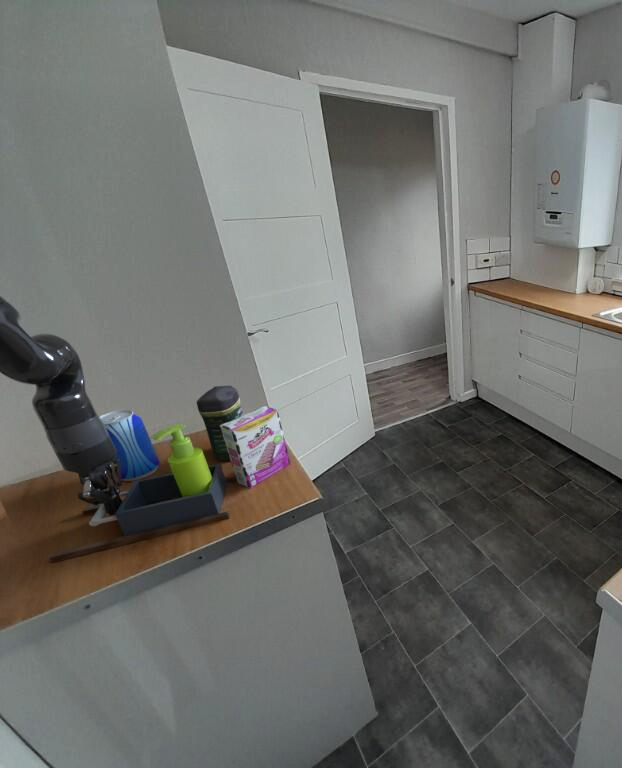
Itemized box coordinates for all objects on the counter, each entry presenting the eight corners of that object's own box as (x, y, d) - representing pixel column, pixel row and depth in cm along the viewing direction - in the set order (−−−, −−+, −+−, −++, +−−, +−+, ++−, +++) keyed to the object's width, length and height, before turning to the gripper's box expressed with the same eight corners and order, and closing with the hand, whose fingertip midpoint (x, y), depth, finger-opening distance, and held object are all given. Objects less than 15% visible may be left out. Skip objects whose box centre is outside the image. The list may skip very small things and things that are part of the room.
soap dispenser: (176, 511, 88) (142, 433, 80) (208, 492, 94) (179, 417, 86) (194, 519, 86) (162, 439, 78) (226, 498, 92) (198, 422, 84)
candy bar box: (251, 490, 95) (231, 431, 88) (237, 484, 97) (217, 425, 90) (292, 465, 104) (278, 409, 98) (279, 459, 106) (264, 404, 99)
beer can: (112, 475, 99) (84, 418, 93) (154, 458, 106) (131, 404, 99) (124, 488, 95) (95, 430, 88) (167, 470, 101) (143, 414, 95)
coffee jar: (245, 461, 106) (225, 398, 98) (211, 465, 104) (187, 401, 96) (258, 441, 114) (240, 381, 106) (226, 444, 113) (206, 384, 105)
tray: (95, 545, 79) (82, 521, 77) (117, 508, 89) (106, 486, 86) (219, 515, 87) (211, 493, 85) (227, 484, 97) (220, 463, 94)
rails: (51, 562, 76) (48, 557, 75) (86, 512, 88) (83, 507, 87) (229, 519, 87) (227, 514, 86) (238, 479, 99) (236, 475, 98)
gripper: (71, 428, 81) (106, 498, 88) (35, 464, 70) (79, 540, 77) (119, 420, 84) (150, 488, 91) (92, 453, 73) (129, 527, 80)
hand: (117, 512), depth 84 cm, fingers closed
